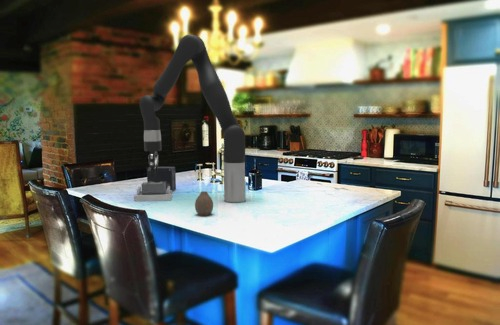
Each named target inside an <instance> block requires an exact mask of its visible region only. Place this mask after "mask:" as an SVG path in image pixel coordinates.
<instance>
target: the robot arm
mask: <svg viewBox="0 0 500 325" xmlns="http://www.w3.org/2000/svg"><path fill="white" fill-rule="evenodd" d="M189 61H191V62H192V64H193V66H194V67H195V70H196V72H197V77H198V82H199V87H200V89H201V92H202V96H203V97H204V99H205V101H206V103H207V105H208V106H209V108H210V110H211V111H212V113H213V115H214V116H215V118H216V120H217V121H218V124H219V126H220V130H221V132H222V134H223V135H222V136H223V190H224V191H223V198H224V199H223V201H224V202H227V203H241V202H242V203H243V202H246V201H247V200H246V194H247V193H246V192H247V191H246V188H247V187H246V183H247V182H246V165H245V164H246V133H245V130H244V129H243V128H242V127H241V125H240V124H239V122H238V120H237V119H236V117H235V116H234V113H233V110H232V107H231V104H230V100H229V97H228V95H227V92H226V90H225V87H224V86H223V84H222V82H221V79H220V78H219V75H218V73H217V71H216V70H215V68H214V65H213V64H212V61H211V59H210V57H209V53H208V50H207V46H206V44H205V42H204V40H203V39H202V38H201V37H200V36H198V35H195V34H186V35H183V37H181V39H180V41H179V42H178V44H177V47H176V49H175V51H174V53H173V55H172V57H171V58H170V60H169V62H168V64H167V65H166V67H165V69H164V70H163V72H162V73H161V74H160V76H159V77H158V79H157V80H156V81H155V83H154V84H153V87H152V89H153V93H152V94H151V95H150V94H146V95H143V96H142V97H141V98H140V100H139V110H140V114H141V117H142V120H143V146H144V147H143V150H144V152H149V154H148V156H147V158H148V168H150V175H151V177H156V175H157V174H158V169H157V167H159V153H158V152H160V151H162V134H161V133H162V132H161V122H160V118H159V117H157V116H156V112H158V111H160V110H161V108H162V107H163V105H164V103H165V102H166V99H167V95H169V93H170V92H171V90H172V89H173V87H174V86H175V85H176V83H177V81H178V79H179V76H180V74H181V72H182V70H183V68H184V67H185V65H186V64H187V63H189Z"/></svg>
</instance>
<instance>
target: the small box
mask: <svg viewBox="0 0 500 325" xmlns="http://www.w3.org/2000/svg"><path fill="white" fill-rule="evenodd" d="M157 169H158V174H157V175H156V177H151V175H150V168H149V167H146V180H147V181H146V182H166V191H167V186H170V190H172V192H174V191H175V190H176V189H177V185H176V184H177V183H176V166H157Z"/></svg>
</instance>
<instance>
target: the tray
mask: <svg viewBox="0 0 500 325" xmlns="http://www.w3.org/2000/svg"><path fill="white" fill-rule="evenodd" d="M172 198H173V191H172V190H170V186H167V191H166V195H142V186H138V187H137V188H136V194H134V195H133V202H150V201H151V202H159V201H172Z"/></svg>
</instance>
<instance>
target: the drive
mask: <svg viewBox="0 0 500 325" xmlns="http://www.w3.org/2000/svg"><path fill="white" fill-rule="evenodd" d="M140 187H141V191H142V195H166V182H147V181H146V182H144V181H143V182H142V183H141V186H140Z"/></svg>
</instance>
